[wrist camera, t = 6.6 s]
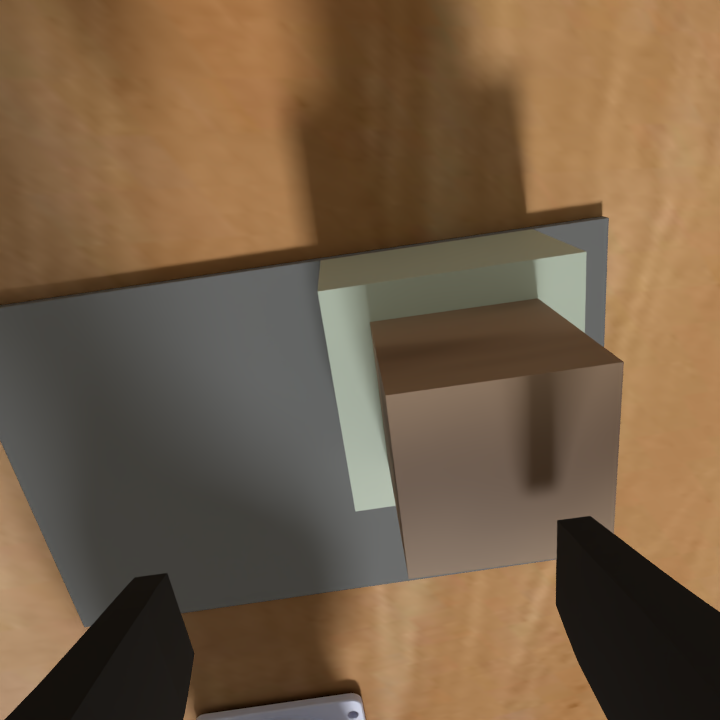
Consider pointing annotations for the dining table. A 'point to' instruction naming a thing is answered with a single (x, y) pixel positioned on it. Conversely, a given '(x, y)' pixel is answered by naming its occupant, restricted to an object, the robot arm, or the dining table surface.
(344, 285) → the base block
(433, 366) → the walnut cube
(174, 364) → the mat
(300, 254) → the dining table surface
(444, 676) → the dining table surface
